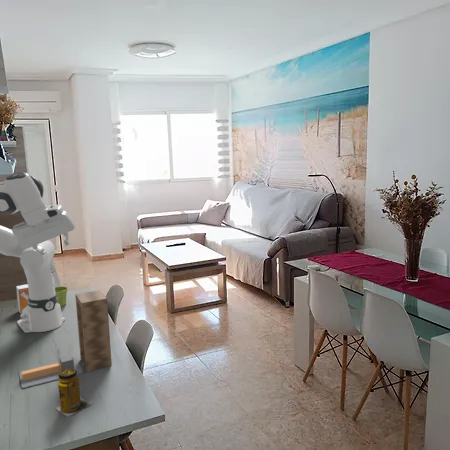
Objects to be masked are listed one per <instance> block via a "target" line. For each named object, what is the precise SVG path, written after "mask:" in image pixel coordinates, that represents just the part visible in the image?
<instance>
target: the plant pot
mask: <svg viewBox="0 0 450 450" xmlns="http://www.w3.org/2000/svg"><path fill="white" fill-rule="evenodd" d="M68 289H69V287H67V286H55V293H56V295H57V303H58V304H60V307H61V308H62V307H64V306H66V305H67V293H68Z"/></svg>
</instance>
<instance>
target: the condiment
mask: <svg viewBox="0 0 450 450" xmlns="http://www.w3.org/2000/svg"><path fill="white" fill-rule="evenodd" d="M57 385H58V386H57V387H58V395H59V406H57V407H54V408H55V410H57V411H58V412H59V413H61V414H62V415H64V416H66V417H67V418H68V417H70V416H72V415H75V414H76V413H78V412H79V411H82V410H83V409H84V410H85V408H87V407H89V406H91V405H92V403H91V402H90V401H87V400H86V399H84V398H82V396H81V390H80V389H81V388H80V380H79V377H78V375H77V372H76V370H75V369H65V370H63V371H61V372H60V373H59V380H58V383H57Z"/></svg>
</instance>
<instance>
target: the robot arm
mask: <svg viewBox="0 0 450 450" xmlns="http://www.w3.org/2000/svg"><path fill="white" fill-rule="evenodd" d="M43 197H44V186H43V183H42V181H40V180H39V179H38V178H36V177H35V176H32V175H29V174H28V173H27V172H24V171H20V172H16V173H12V174H10V175H8V176H6V178H4V183H3V184H0V213H2V214H4V215H8V216H9V215H14V214H16V213H17V212H19V211H20V214H21V216H22V218H23V219H24V221H22V222H20V223H17V224H14V225H13V227H12V228H8V227H6V226H4V225H0V254H1V255H4V256H7V257H16V258H19V259H20V260H19V263H20V265H21V267H22V268H23V271H24V275H25V277H26V282H27V284H28V291H29V297H27V298H28V306H27V307H26V308H25V309H24V310H23V311H22V314H20V319H19V320H17V321H16V322H17V325H18V326H19V327H20V329H21V330H22V331H23V332H24V333H25V334H27V333H43V332H49V331H53V330H57V329H58V328H59V327H61V326H62V325H63V322H65V320H66V318H65V317H63V314H62V307H60V304H58V303H57V295H56V293H55V287H56V284H55V277H54V275H53V272H52V269H51V264H50V263H51V261H52V259H53V257H54V256H55V250H56V248H55V245H54V243H53V242H52V241H51V240H52V239H54V238H56V237H59V236H62V235H63V237H65V239H64V240H63V244H64V246H68V245H71V242H70V240H69V235H70V232H72V231H73V230H75V229H76V222H75V221H74V220H73V219H74V218H73V217H72V216H71V215H70V213H69V212H68V211H66V210H64V206H63V205H62V204H52V205H51V204H50V205H49V204H48V205H47V203H46V201H44V199H43Z"/></svg>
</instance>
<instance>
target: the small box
mask: <svg viewBox="0 0 450 450" xmlns="http://www.w3.org/2000/svg"><path fill="white" fill-rule="evenodd" d="M15 289H16V298H17V299H16V300H17V307H18V312H19V314H20V315H22V311H23V310H24V309H25V308H26V307H27V306H28V298H27V297H29V291H28V283H27V284H21V285H17V286H15Z"/></svg>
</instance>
